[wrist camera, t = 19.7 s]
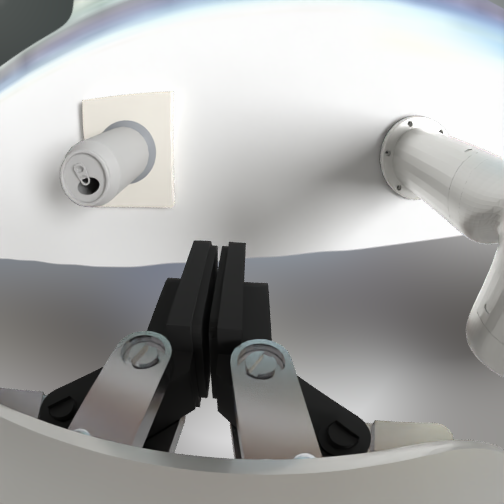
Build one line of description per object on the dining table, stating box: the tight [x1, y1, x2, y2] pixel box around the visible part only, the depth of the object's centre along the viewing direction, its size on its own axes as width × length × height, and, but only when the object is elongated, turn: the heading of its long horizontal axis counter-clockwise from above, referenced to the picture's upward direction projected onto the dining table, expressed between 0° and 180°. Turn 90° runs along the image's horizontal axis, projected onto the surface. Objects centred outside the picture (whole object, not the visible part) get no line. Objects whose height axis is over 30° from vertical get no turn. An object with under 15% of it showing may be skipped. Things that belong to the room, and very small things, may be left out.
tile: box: [82, 91, 175, 208], centre depth 38 cm, size 13×16×2 cm
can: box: [60, 127, 149, 207], centre depth 32 cm, size 8×8×12 cm
